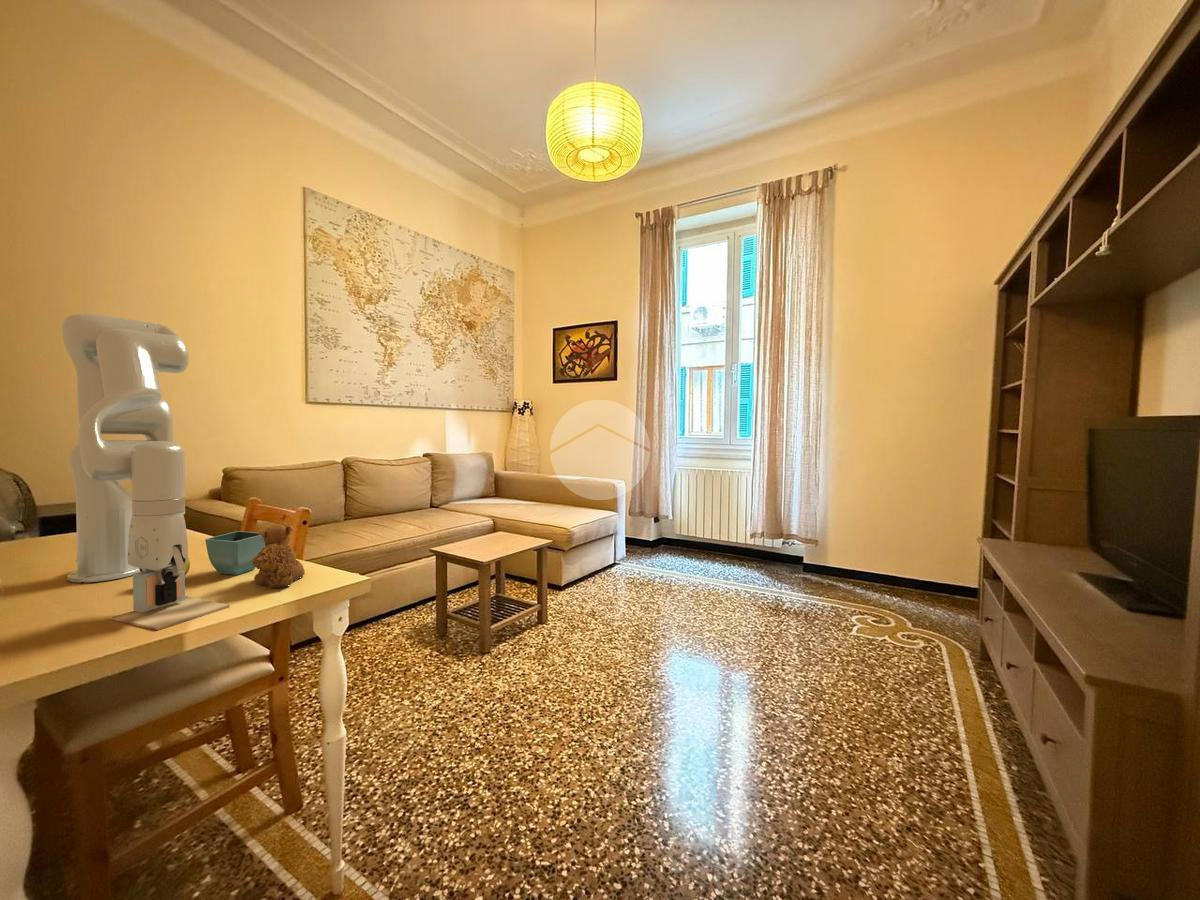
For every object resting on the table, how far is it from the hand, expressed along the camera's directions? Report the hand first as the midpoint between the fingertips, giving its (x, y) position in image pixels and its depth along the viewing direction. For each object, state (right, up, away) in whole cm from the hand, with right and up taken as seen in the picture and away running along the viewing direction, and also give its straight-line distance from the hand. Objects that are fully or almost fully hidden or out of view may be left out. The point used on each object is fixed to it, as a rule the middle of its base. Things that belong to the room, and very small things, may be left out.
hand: (160, 601), depth 92 cm
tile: (0, -1, 0) cm, 1 cm away
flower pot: (-4, -1, +24) cm, 25 cm away
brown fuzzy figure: (+11, -2, +17) cm, 21 cm away
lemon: (-11, -1, +15) cm, 19 cm away
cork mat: (+3, -2, -1) cm, 4 cm away
